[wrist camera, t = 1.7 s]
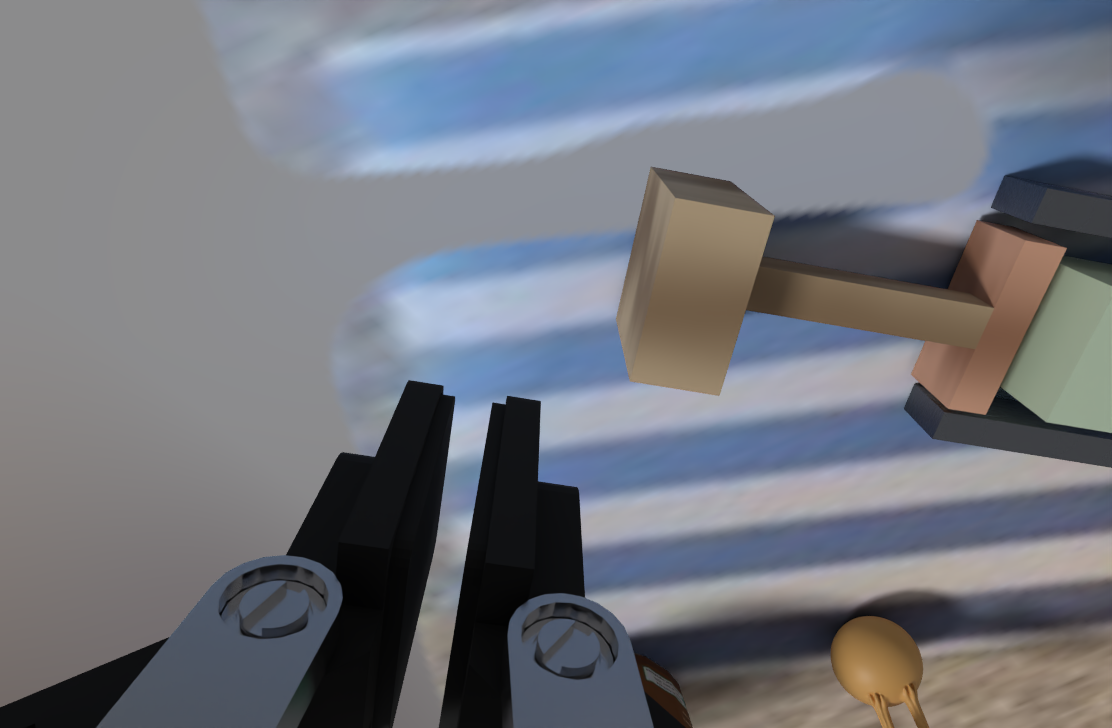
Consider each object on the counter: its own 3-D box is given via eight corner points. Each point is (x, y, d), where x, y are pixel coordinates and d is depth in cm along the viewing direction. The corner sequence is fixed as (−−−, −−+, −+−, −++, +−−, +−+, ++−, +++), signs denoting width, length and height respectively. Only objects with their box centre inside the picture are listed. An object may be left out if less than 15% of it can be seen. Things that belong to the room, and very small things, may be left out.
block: (1023, 247, 27) (1116, 288, 23) (1142, 269, 28) (1257, 314, 23) (970, 363, 29) (1046, 422, 25) (1081, 382, 30) (1177, 443, 25)
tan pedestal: (652, 159, 26) (677, 189, 20) (1014, 227, 27) (1125, 271, 21) (614, 324, 28) (628, 387, 23) (945, 380, 29) (1029, 452, 24)
